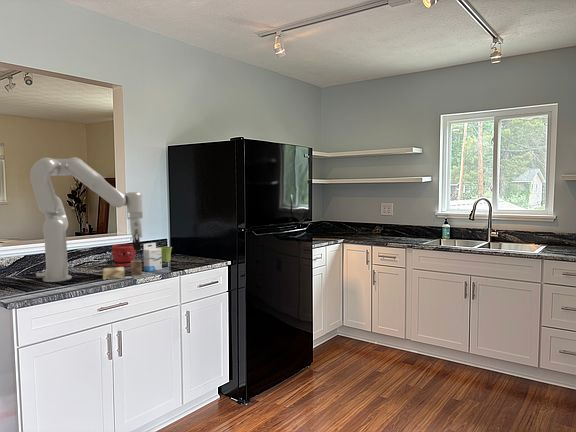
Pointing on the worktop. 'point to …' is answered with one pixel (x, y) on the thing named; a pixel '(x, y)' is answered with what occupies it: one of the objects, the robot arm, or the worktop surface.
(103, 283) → the worktop surface
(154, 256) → the ink box
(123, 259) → the plant pot
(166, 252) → the plant pot
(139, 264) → the walnut block
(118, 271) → the maple block
